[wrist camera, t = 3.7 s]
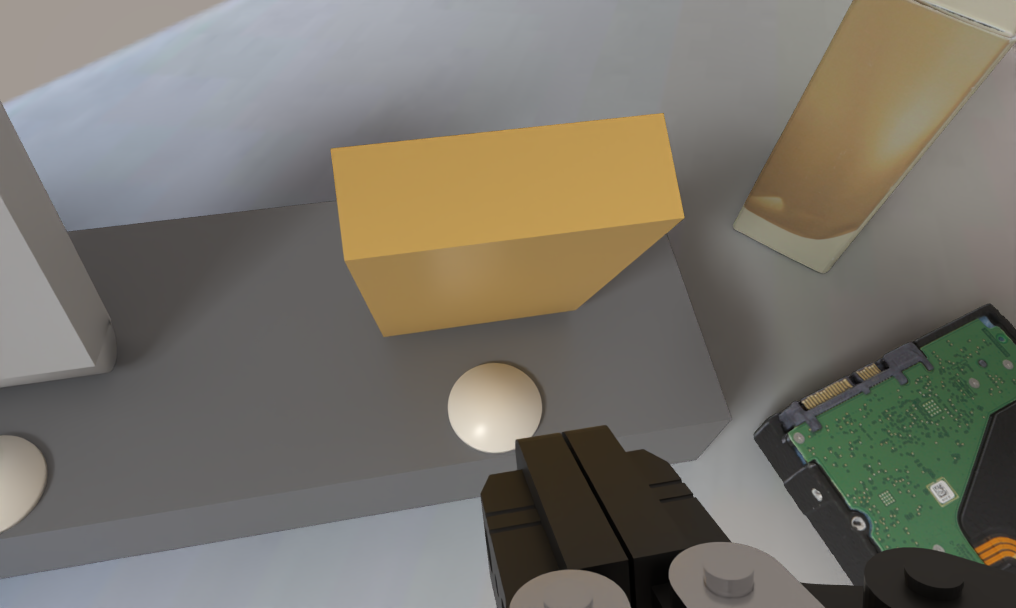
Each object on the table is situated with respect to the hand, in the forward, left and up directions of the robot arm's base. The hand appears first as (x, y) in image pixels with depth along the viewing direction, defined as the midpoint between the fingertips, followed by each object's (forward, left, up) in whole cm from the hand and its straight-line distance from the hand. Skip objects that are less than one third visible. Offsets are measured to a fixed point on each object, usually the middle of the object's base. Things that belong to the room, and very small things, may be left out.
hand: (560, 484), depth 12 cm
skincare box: (+15, +13, -13) cm, 24 cm away
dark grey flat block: (-7, +8, -13) cm, 17 cm away
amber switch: (0, +8, -8) cm, 11 cm away
